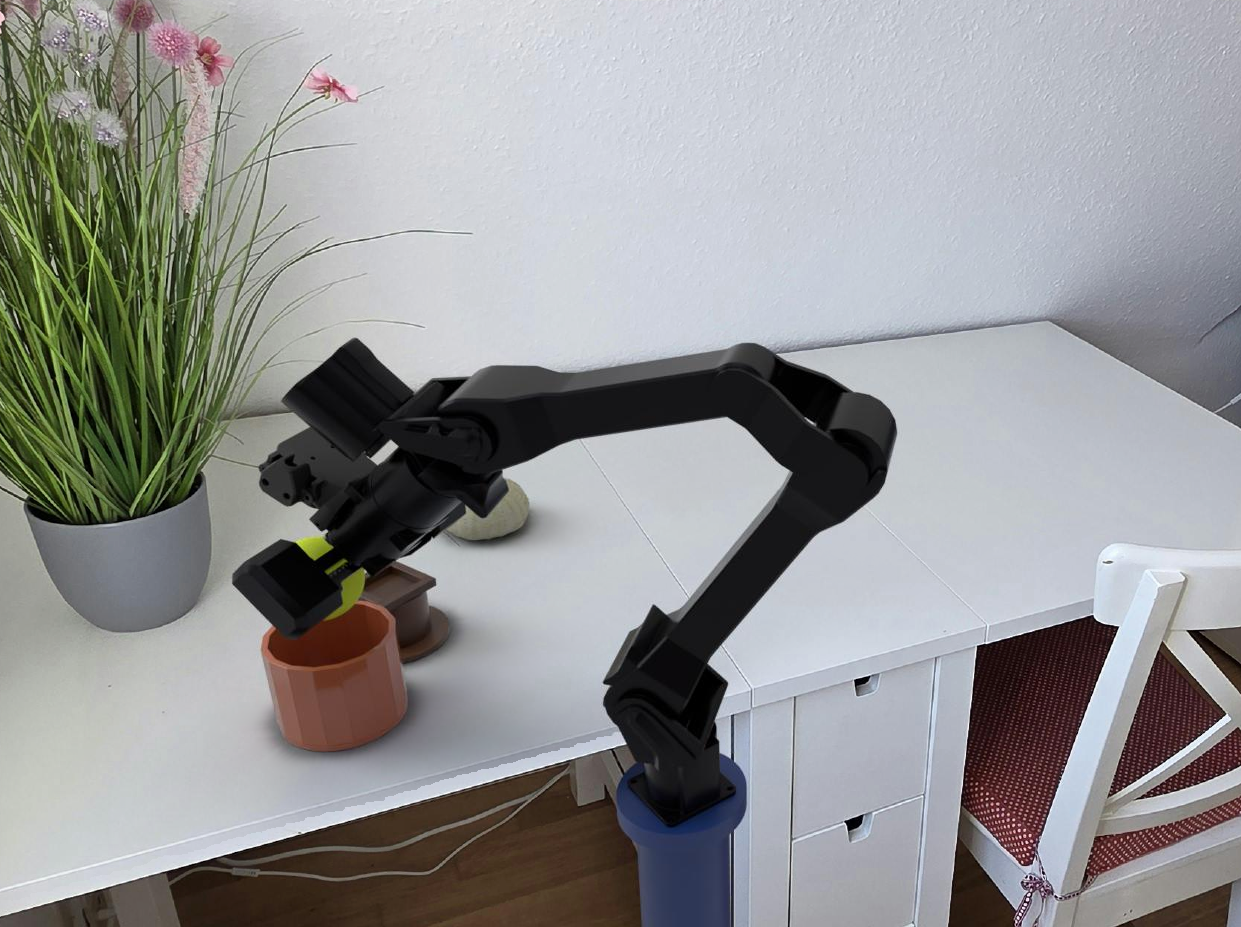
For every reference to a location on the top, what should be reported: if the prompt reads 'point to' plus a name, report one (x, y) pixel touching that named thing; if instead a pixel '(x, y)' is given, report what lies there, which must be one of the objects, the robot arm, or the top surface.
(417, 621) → the ball stand
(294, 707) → the terracotta pot
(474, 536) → the sea urchin shell
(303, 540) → the tennis ball
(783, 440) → the robot arm
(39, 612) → the top surface
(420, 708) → the top surface
